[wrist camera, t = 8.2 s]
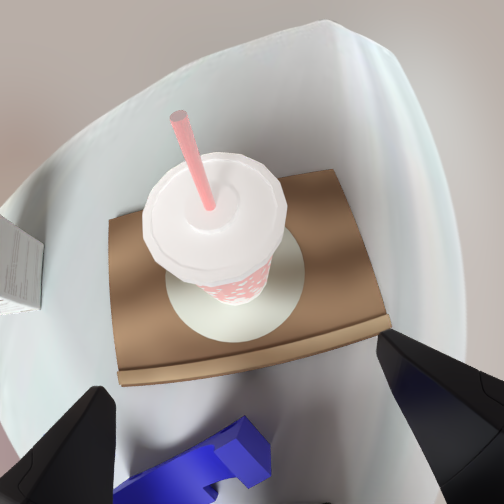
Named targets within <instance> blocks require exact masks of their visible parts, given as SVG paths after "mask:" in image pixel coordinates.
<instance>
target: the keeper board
mask: <svg viewBox="0 0 504 504" xmlns="http://www.w3.org/2000/svg"><path fill="white" fill-rule="evenodd" d="M277 179H278V180H279V182H280V184H281V187H282V190H283V193H284V196H285V199H286V203H287V213H286V220H285V226H284V233H283V236H282V241H281V243H280V244H279V246H278V247H277V249H276V250H275V252H274V253H273V256H272V260H271V265H270V269H269V274H268V278H267V283H266V285H265V287H264V288H263V290H262V292H261V293H260V295H259V296H257V297H256V298H254V299H253V300H251V301H250V302H248V303H244V304H240V305H230V304H225V303H221V302H220V301H218V300H217V299H215V298H214V297H212V296H211V295H210V294H208V293H207V292H205V291H204V290H203V289H201V288H200V287H198V286H197V285H196V284H192V283H187V282H183V281H182V280H180V279H179V278H177V277H176V276H175V275H173V274H172V273H170V272H169V271H168V270H166V269H165V268H163V267H162V266H161V265H159V264H158V263H157V262H156V261H155V260H154V258H153V256H152V254H151V252H150V251H149V249H148V247H147V245H146V243H145V241H144V239H143V223H142V213H143V210H141V211H137V212H134V213H130V214H127V215H124V216H120V217H117V218H114V219H110V220H109V237H108V256H109V287H110V303H111V315H112V325H113V334H114V343H115V350H116V357H117V364H118V370H119V371H118V372H117V376H118V381H119V385H121V387H129V386H143V385H155V384H165V383H174V382H182V381H190V380H197V379H204V378H211V377H217V376H223V375H228V374H234V373H239V372H245V371H250V370H254V369H259V368H264V367H268V366H273V365H277V364H281V363H286V362H290V361H294V360H298V359H301V358H305V357H309V356H313V355H316V354H320V353H323V352H327V351H330V350H334V349H337V348H340V347H343V346H347V345H350V344H353V343H356V342H359V341H362V340H365V339H368V338H371V337H374V336H377V335H378V334H379V333H380V332H382V331H384V330H387V329H391V327H392V325H391V321H390V318H389V314H387V313H386V310H385V306H384V303H383V300H382V296H381V293H380V290H379V286H378V283H377V280H376V277H375V274H374V271H373V268H372V265H371V262H370V259H369V256H368V254H367V251H366V248H365V245H364V242H363V240H362V237H361V234H360V232H359V229H358V227H357V224H356V221H355V219H354V216H353V214H352V211H351V209H350V207H349V204H348V202H347V199H346V197H345V195H344V192H343V190H342V188H341V185H340V183H339V181H338V179H337V176H336V174H335V172H334V170H333V169H329V170H323V171H317V172H311V173H305V174H299V175H293V176H288V177H282V178H277Z"/></svg>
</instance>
